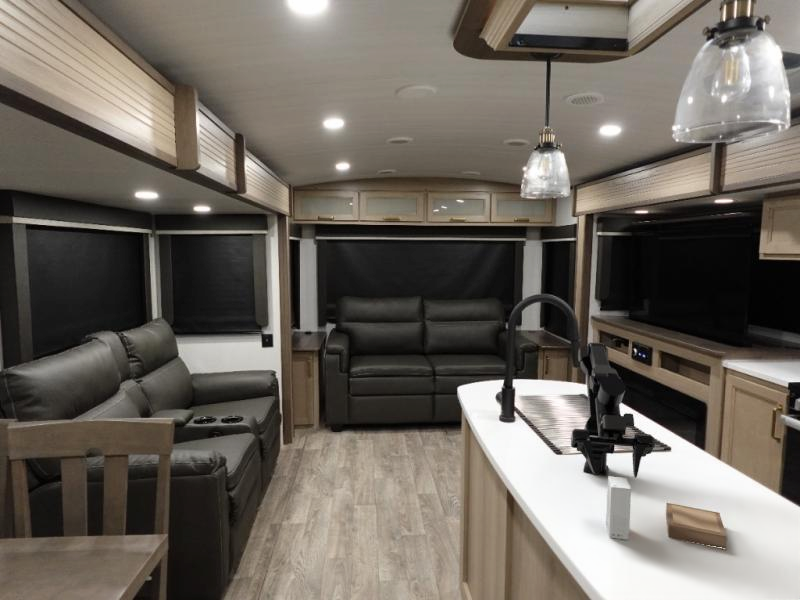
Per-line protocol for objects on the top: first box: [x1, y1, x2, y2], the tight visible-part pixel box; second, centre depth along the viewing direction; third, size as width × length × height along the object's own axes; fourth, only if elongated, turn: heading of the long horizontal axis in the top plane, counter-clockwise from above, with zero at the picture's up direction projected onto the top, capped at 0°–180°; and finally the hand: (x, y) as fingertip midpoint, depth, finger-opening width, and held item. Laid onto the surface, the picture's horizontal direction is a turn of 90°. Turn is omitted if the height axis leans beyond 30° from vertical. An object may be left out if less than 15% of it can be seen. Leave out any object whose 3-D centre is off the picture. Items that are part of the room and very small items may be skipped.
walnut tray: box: [665, 502, 728, 549], centre depth 113 cm, size 11×11×3 cm
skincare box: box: [605, 475, 632, 541], centre depth 113 cm, size 6×4×12 cm
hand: (614, 475), depth 117 cm, fingers open, 9 cm apart
